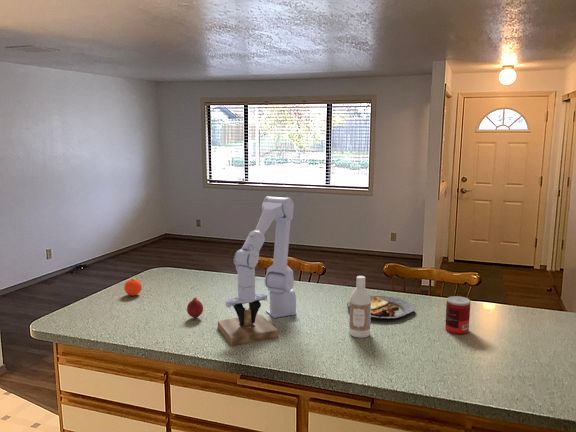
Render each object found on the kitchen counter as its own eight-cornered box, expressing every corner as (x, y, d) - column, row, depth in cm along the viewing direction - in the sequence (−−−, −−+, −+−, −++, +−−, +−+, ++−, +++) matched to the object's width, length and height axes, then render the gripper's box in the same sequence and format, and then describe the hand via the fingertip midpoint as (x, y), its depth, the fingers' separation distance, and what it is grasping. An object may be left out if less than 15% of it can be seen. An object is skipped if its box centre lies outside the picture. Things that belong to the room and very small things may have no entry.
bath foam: (347, 336, 167) (348, 278, 163) (351, 329, 173) (352, 273, 170) (368, 339, 165) (369, 280, 161) (371, 331, 171) (372, 274, 168)
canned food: (468, 327, 175) (470, 297, 173) (468, 336, 167) (470, 304, 165) (445, 324, 177) (447, 294, 175) (444, 333, 170) (446, 302, 168)
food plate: (383, 327, 174) (384, 318, 174) (334, 310, 192) (335, 301, 191) (424, 312, 191) (425, 303, 190) (376, 297, 208) (376, 289, 207)
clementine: (130, 291, 215) (129, 275, 213) (145, 292, 214) (145, 275, 212) (121, 297, 207) (120, 280, 206) (137, 298, 206) (136, 281, 205)
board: (260, 320, 181) (260, 314, 181) (278, 337, 167) (278, 330, 166) (217, 327, 175) (217, 321, 174) (231, 345, 160) (231, 338, 160)
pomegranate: (199, 322, 180) (199, 300, 179) (184, 320, 181) (183, 299, 180) (205, 316, 186) (205, 295, 185) (191, 315, 187) (190, 294, 186)
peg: (249, 329, 173) (248, 307, 172) (253, 332, 170) (252, 309, 169) (240, 331, 172) (239, 308, 171) (244, 334, 169) (243, 311, 168)
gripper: (260, 278, 175) (261, 315, 177) (221, 285, 168) (222, 323, 170) (269, 284, 169) (270, 322, 171) (229, 290, 162) (230, 330, 164)
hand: (247, 323), depth 170 cm, fingers closed on peg, 3 cm apart
